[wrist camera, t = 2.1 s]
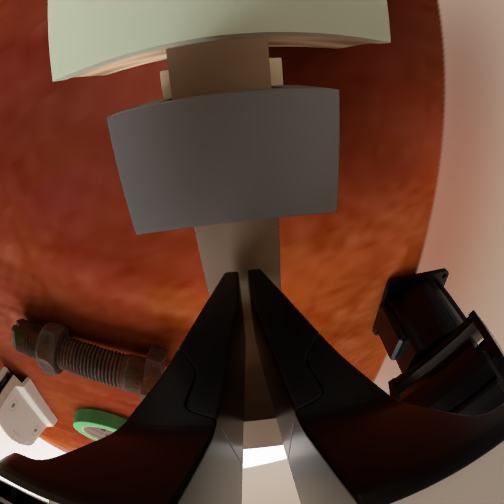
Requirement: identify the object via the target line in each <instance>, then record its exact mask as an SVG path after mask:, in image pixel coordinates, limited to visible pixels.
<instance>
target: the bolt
mask: <svg viewBox="0 0 504 504" xmlns="http://www.w3.org/2000/svg"><path fill="white" fill-rule="evenodd" d="M11 334H12V342H13V346H14V348H15V350H17V351H19V352H21V353H23V354H25V355H28V356H30V357H33V358H35V359H36V361H37V363H38V365H39V367H40V368H41V369H42V371H43V372H45V373H47V374H49V375H52V376H56V375H58V374H60V373H61V372H62V371H63V370H66V371H67V372H68V371H69V372H70V373H73V374H76V375H79V376H82V377H86V378H87V379H88V378H89V379H90V380H94V381H95V380H96V381H97V382H100V383H104V384H106V383H107V385H111V386H114V387H117V386H118V388H121V389H123V390H124V391H128V392H132V393H135V394H139V395H141V402H142V401H143V399H144V398H145V397H146V395H147V394H148V393H149V392H150V390H151V389H152V388H153V386H154V385H155V384H156V382H157V381H158V380H159V378H160V377H161V376H162V374H163V373H164V369H165V362H166V357H167V354H166V352H165V350H164V349H160V348H156V347H150V350H149V353H148V356H147V358H145V357H141V356H137V355H132V354H129V355H128V354H124V353H122V354H121V352H118V353H117V351H115V352H114V351H113V350H111V351H110V350H107V349H103V348H102V347H101V348H100V347H99V346H96V345H93V344H90V343H86V342H83V341H80V340H76V339H75V338H74V339H73V338H72V337H71V338H70V336H69V332H68V330H67V329H66V327H65V326H64V325H61V324H58V323H55V322H50V323H48V324H46V325H44V327H42V326H39V325H37V324H34V323H32V322H29V321H27V320H25V319H20V320H17V321H16V325H13V327H12V329H11Z"/></svg>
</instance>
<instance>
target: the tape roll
mask: <svg viewBox="0 0 504 504" xmlns="http://www.w3.org/2000/svg"><path fill="white" fill-rule="evenodd" d="M126 421H127V419H124V418H122V417H119V416H117V415H114V414H111V413H107V412H104V411H99V410H94V409H78V410H77V411H76V413H75V418H74V423H73V426H74V428H75V429H76V430H77V431H78V432H80V433H81V434H83V435H85V436H87V437H89V438H91V439H93V440H96V441H97V440H99V439H101V438H103V437H106V436H108V435H110V434H112V433H113V432H115V431H116V430H117V429H118V428H120V427H121V426H122V425H123V424H124V423H125V422H126ZM105 429H106V430H105ZM108 430H109V431H108Z"/></svg>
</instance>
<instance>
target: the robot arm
mask: <svg viewBox="0 0 504 504" xmlns="http://www.w3.org/2000/svg"><path fill="white" fill-rule="evenodd" d="M448 274H449V273H448V271H447V270H446V269H444V268H443V269H438V270H434V271H429V272H423V273H418V274H413V275H408V276H402V277H397V278H392V279H390V280H389V281H388V282H387V284H386V287H385V291H384V294H383V298H382V301H381V304H380V306H379V310H378V313H377V316H376V319H375V322H374V327H373V330H372V331H373V333H374V335H379V336H380V338H381V340H382V342H383V344H384V346H385V349H386V351H387V353H388V355H389V357H390V359H391V360H396V361H397V363H398V365H399V368H400V370H401V372H402V374H400V375H399V376H398V377H396V378H393V379H392V380H390V381H389V382H388V384H389V389H390V395H388V394H387V393H386V392H384V391H383V390H382V389H381V388H379V387H378V386H377V385H376V384H374V383H373V382H372V381H371V380H370V379H368V378H367V377H366V376H365V375H364V374H362V373H361V372H360V371H359V370H357V369H356V368H355V367H354V366H353V365H351V364H350V363H349V362H348V361H347V360H346V359H345V358H343V357H342V356H341V355H340V354H339V353H338V352H337V351H336V350H335V349H334V348H333V347H332V346H331V345H330V344H329V343H328V342H327V341H326V340H325V339H324V338H323V336H322V335H321V334H319V332H318V331H317V330H316V329H315V328H314V327H313V326H312V325H311V324H310V322H309V321H308V320H307V319H306V318H305V317H304V316H303V315H302V314H301V313H300V312H299V310H298V309H297V308H296V307H295V306H294V305H293V304H292V303H291V302H290V301H289V300H288V298H287V297H286V296H285V295H284V294H283V293H282V292H281V291H280V290H279V289H278V288H277V286H276V285H275V284H274V283H273V282H272V281H271V280H270V279H269V278H268V277H267V275H266V274H265V273H264V272H263V271H262V270H261V269H251V270H248V271H247V277H248V286H249V295H250V303H251V311H252V320H253V328H254V335H255V341H256V345H257V349H258V353H259V356H260V360H261V364H262V368H263V371H264V375H265V379H266V383H267V386H268V390H269V394H270V397H271V401H272V405H273V408H274V412H275V415H276V419H277V423H278V426H279V430H280V433H281V437H282V440H283V444H284V447H285V451H286V454H287V458H288V460H289V465H290V468H291V472H292V475H293V479H294V482H295V485H296V489H297V492H298V495H299V499H300V502H301V504H504V353H503V351H502V350H501V348H500V346H499V345H498V343H497V341H496V340H495V338H494V337H493V335H492V334H491V332H490V331H489V329H488V328H487V326H486V325H485V324H484V322H483V321H482V320H481V319H480V317H479V316H478V315H477V314H476V312H475V311H474V310H473V311H472V312H471V313H470V314H469V317H467V318H466V317H465V315H464V314H463V312H462V311H461V310H460V308H459V307H458V305H457V304H456V303H455V301H454V300H453V299H452V297H451V296H450V295H449V293H448V292H447V291H446V289H445V288H444V285H445V282H446V279H447V277H448ZM482 338H484V340H483V341H482V342H481V343H480V344H479V345H478V344H477V342H478V341H479V340H480V339H482ZM245 362H246V333H245V323H244V313H243V304H242V294H241V287H240V280H239V273H238V272H237V271H234V272H226V273H224V275H223V276H222V278H221V280H220V281H219V283H218V285H217V286H216V288H215V289H214V291H213V293H212V294H211V296H210V298H209V299H208V301H207V303H206V304H205V306H204V308H203V309H202V311H201V313H200V314H199V316H198V317H197V319H196V321H195V322H194V324H193V326H192V327H191V329H190V331H189V332H188V334H187V336H186V337H185V339H184V341H183V342H182V344H181V346H180V347H179V350H177V352H176V354H175V356H174V357H173V359H172V360H171V362H170V364H169V365H168V367H167V368H166V370H165V371H164V373H163V374H162V376H161V377H160V378H159V380H158V381H157V382H156V384H155V385H154V386H153V388H152V389H151V390H150V392H149V393H148V394H147V395H146V397H145V398H144V399H143V401H142V402H141V403H140V404H139V406H138V407H137V408H136V409H135V411H134V412H133V413H132V415H131V416H130V417H129V418H128V419H127V421H126V422H125V423H124V424H123V425H122V426H121V427H120V428H118V429H117V430H116V431H115V432H113V433H112V434H110V435H108V436H106V437H103V438H101V439H99V440H97V441H94V442H92V443H90V444H88V445H85V446H83V447H81V448H78V449H76V450H73V451H71V452H68V453H66V454H63V455H61V456H58V457H55V458H52V459H47V460H34V459H30V458H28V457H25V456H23V455H20V454H17V453H13V454H11V455H9V456H7V457H5V458H3V459H2V460H1V461H0V476H2V477H4V478H5V479H7V480H9V481H11V482H13V483H15V484H16V485H18V486H20V487H22V488H24V489H26V490H28V491H31V492H33V493H35V494H37V495H39V496H41V497H44V498H46V499H48V500H49V503H48V502H45V501H43V500H41V499H39V498H36V497H34V496H32V495H30V494H28V493H26V492H24V491H22V490H20V489H18V488H16V487H13V486H12V485H10V484H8V483H6V482H4V481H2V480H0V504H241V501H242V500H241V499H242V463H243V428H244V394H245Z"/></svg>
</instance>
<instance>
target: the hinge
mask: <svg viewBox="0 0 504 504" xmlns="http://www.w3.org/2000/svg"><path fill="white" fill-rule="evenodd" d="M57 421H58V419H57V418H56V417H55V415H54V414H53V412H52V411H51V410H50V408H49V407H48V405H47V404H46V402H45V401H44V399H43V398H42V396H41V395H40V393H39V392H38V390H37V389H36V387H35V385H34V384H33V382H32V381H31V379H30V378H29V377H27V378H26V379H25V380H24V381H23V382H20V381H19V380H18V379H17V378H16V377H15V375H13V376H12V374H11V373H10V371H9V370H8V369H7V368H6V367H3V368H2V369H1V371H0V429H1V430H2V431H3V432H4V433H5V434H6V435H7V436H8V437H10V438H11V439H13V440H14V441H16V442H18V443H20V444H24V445H32V444H33V443H34V441H35V440H36V439H37V438H38V437H39V435H40V434H41V433H42V432H43V430H44V429H45V428H46V427H53V426H54V425H55V424H56V422H57Z"/></svg>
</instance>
